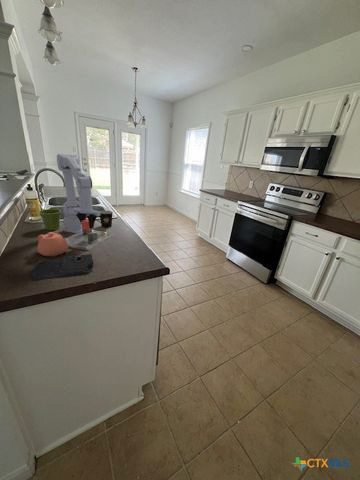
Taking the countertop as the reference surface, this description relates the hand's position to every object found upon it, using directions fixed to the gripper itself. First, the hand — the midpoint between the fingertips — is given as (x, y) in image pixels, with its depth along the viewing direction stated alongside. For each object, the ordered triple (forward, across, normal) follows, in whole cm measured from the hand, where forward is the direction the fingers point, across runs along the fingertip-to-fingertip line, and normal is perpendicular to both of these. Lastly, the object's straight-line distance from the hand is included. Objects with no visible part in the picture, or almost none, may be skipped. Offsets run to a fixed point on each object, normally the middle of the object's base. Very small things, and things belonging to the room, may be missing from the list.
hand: (88, 227), depth 105 cm
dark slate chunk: (+10, +8, -26) cm, 29 cm away
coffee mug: (+10, -11, +30) cm, 33 cm away
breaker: (+8, -9, +10) cm, 16 cm away
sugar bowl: (+10, -8, -16) cm, 20 cm away
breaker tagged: (+8, 0, +3) cm, 8 cm away
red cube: (+1, 0, 0) cm, 1 cm away
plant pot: (+10, -34, +11) cm, 37 cm away
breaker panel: (+9, -4, +4) cm, 11 cm away
